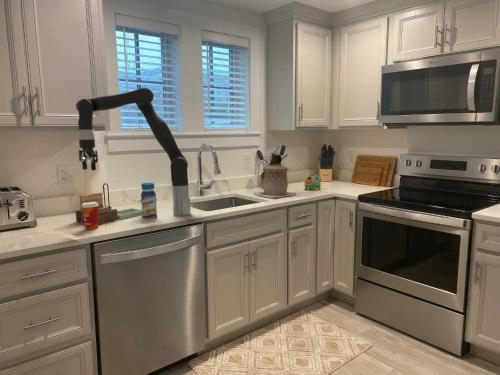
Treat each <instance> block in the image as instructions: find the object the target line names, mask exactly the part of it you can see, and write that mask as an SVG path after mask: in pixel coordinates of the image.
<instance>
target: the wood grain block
mask: <svg viewBox="0 0 500 375" xmlns="http://www.w3.org/2000/svg"><path fill="white" fill-rule="evenodd" d="M87 202H97V203H98V208H103V207H104V201H103V193H102V192H93V193H88V194H87V193H86V194H81V195H79V203H80V210H81V212H83V210H82V207H81V206H82V204H83V203H86V204H87Z"/></svg>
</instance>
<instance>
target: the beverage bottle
mask: <svg viewBox="0 0 500 375" xmlns="http://www.w3.org/2000/svg"><path fill="white" fill-rule="evenodd" d="M141 190H142V192H141V194H140V198H141V199H140V203H141V210H142V216H141V218H143V219H155V220H157V219H158V211H157V210H158V209H157V197H156V196H157V194H156V192H155V183H154V182H142V183H141Z"/></svg>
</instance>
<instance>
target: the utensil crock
mask: <svg viewBox="0 0 500 375" xmlns="http://www.w3.org/2000/svg"><path fill="white" fill-rule="evenodd" d="M270 154H271V157H270V158H271V159H270V162H269V163H268V164H266V165H264V166H263V168H262V172H261V173H260V175H259V178H260V181H261V188H262V190H263V191H252V193H253V195H256V197H257V196H259V197H264V198H268V199H271V200H273V199H275V198H284V197H296V196H297V192H290V191H289V192H288V186H289V182H288V174H287V172H288V170H289V168H288V167H286V166H284V165H282V156H281V155H280V154H278V153H274V152H271V153H270Z"/></svg>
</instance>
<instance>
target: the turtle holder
mask: <svg viewBox="0 0 500 375" xmlns="http://www.w3.org/2000/svg"><path fill="white" fill-rule="evenodd" d="M321 181H322V178H321V177H320V176H318V175H317V174H309V175H307V177H306V178H305V180H304V191H305V190H308V189H309V190H310V189H311V191H312V192H314V191H315V189H318V191H321V187H322V186H321V184H322V183H321Z"/></svg>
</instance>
